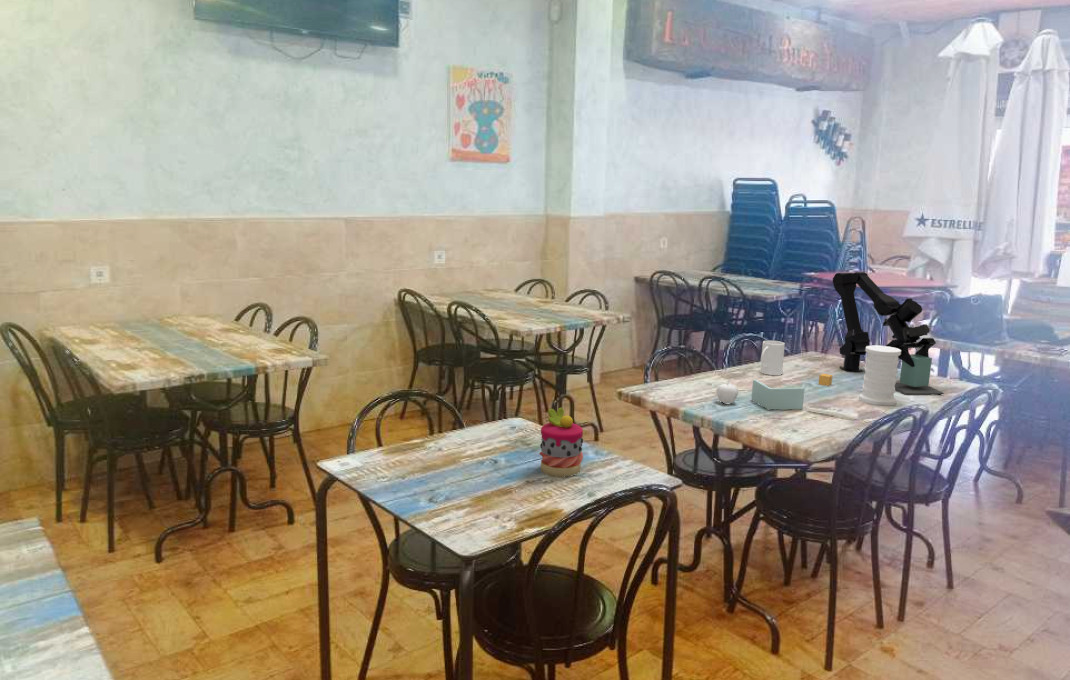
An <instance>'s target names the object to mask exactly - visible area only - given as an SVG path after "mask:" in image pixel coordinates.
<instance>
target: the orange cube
mask: <svg viewBox="0 0 1070 680" xmlns="http://www.w3.org/2000/svg"><path fill="white" fill-rule="evenodd" d="M832 382H833V374H828V373H821V374H819V376H818V385H820V386H821V385H822V386H825V385H827V386H826V387H829V386H831V385H832Z"/></svg>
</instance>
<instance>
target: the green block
mask: <svg viewBox="0 0 1070 680" xmlns="http://www.w3.org/2000/svg"><path fill="white" fill-rule="evenodd" d="M910 356H911V358H912V360H913V362H914V365H915V366H914V367H911V366H910V365H908V364H907V363H905V362H904V361H902V360H901V367H900V368H901V369H900V373H899V375H900V377H899V383H904V384H907V385H910V386H913V387H918V386H929V385H930V379H931V377H930V376H931V370H932V361H933V358H932V357H930V356H929V357H926V356H922V355H918V354H915V353H914V354H910Z"/></svg>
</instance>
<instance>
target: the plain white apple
mask: <svg viewBox="0 0 1070 680" xmlns="http://www.w3.org/2000/svg"><path fill="white" fill-rule="evenodd" d="M730 381H731V379H728V381H727V383H723V384H719V385H718V386H717V387H716V391H715V392H716V396H717V399H718V401H719V402H720V401H721V402H724V403H732V404H733V403H734V402H735V401H736V399H737V397H738V395H739V389H738V387H737V385H735V384H733V383H730ZM721 402H720V403H721Z"/></svg>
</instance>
